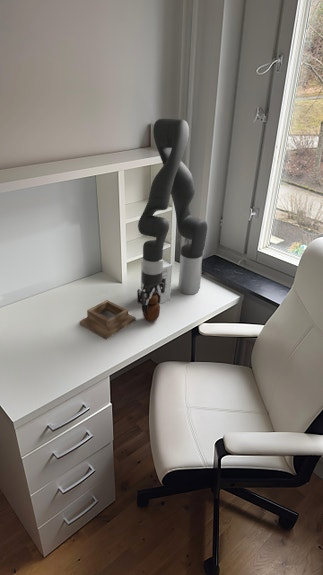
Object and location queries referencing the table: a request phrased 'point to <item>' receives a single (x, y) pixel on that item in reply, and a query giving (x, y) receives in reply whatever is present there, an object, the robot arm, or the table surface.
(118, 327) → the holder
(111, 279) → the table surface
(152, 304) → the wooden figurine
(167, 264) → the supplement box
